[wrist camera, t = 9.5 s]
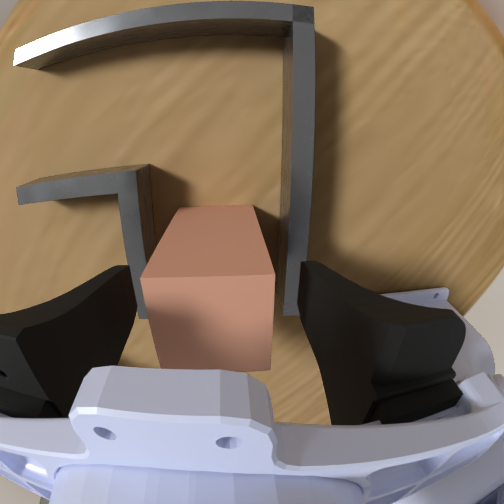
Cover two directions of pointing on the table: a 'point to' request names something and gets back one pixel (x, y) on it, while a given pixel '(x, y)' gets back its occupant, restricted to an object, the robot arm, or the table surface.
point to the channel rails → (138, 176)
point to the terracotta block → (211, 291)
